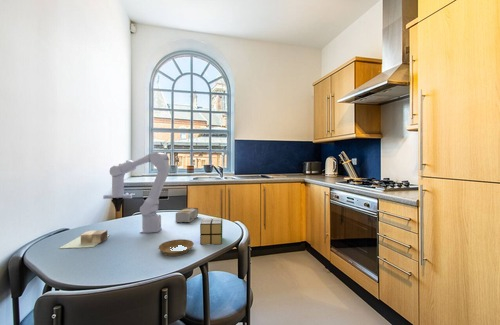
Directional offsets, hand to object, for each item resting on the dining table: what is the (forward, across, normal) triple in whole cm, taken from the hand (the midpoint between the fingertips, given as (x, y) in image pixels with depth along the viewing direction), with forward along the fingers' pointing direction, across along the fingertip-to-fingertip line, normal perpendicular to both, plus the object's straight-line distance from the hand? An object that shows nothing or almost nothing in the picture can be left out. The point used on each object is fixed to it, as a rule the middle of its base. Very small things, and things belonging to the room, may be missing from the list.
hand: (118, 211), depth 130 cm
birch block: (+8, +1, -18) cm, 20 cm away
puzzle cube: (+11, +53, -24) cm, 59 cm away
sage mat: (+10, -7, -18) cm, 22 cm away
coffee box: (+7, +34, +9) cm, 36 cm away
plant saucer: (+11, +38, -34) cm, 52 cm away
